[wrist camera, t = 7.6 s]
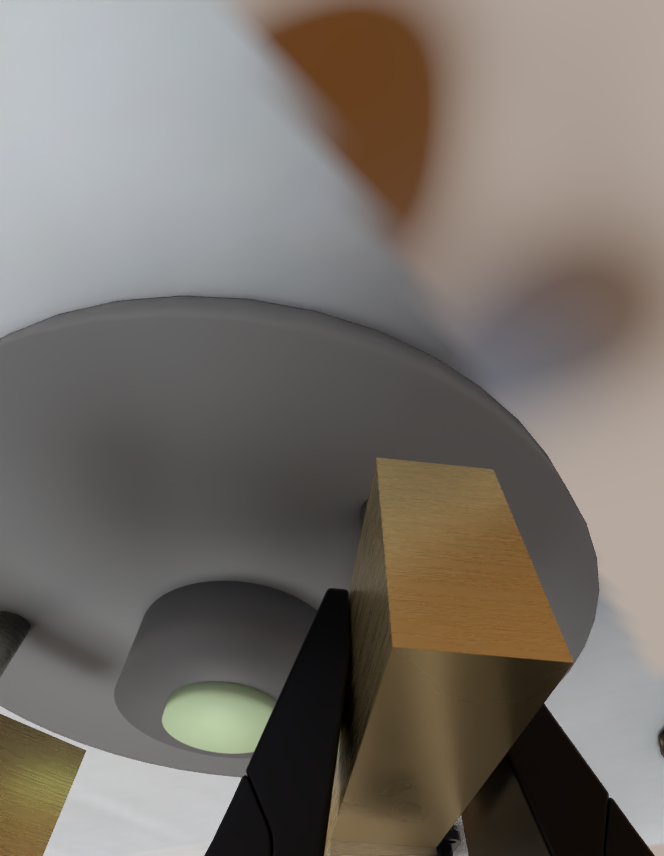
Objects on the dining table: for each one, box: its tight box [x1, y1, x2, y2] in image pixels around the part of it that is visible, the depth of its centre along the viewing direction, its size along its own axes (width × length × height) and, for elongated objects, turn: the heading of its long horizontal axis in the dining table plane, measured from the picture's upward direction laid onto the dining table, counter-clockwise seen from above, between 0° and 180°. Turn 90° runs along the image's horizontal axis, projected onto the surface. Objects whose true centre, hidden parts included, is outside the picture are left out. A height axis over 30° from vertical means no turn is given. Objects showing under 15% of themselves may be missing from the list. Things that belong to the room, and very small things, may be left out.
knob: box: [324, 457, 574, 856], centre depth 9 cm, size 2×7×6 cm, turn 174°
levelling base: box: [0, 296, 599, 777], centre depth 14 cm, size 21×21×4 cm
